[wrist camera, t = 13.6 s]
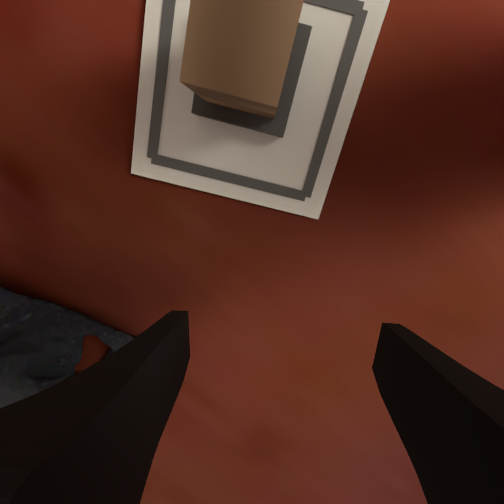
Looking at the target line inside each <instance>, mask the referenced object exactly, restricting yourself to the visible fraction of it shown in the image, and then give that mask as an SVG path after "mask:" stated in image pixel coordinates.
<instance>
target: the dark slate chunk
mask: <svg viewBox="0 0 504 504" xmlns="http://www.w3.org/2000/svg"><path fill="white" fill-rule="evenodd" d="M84 335H94V336H97V337H98V338H100V339H101V340H102V341H103V342H104V343H105V344H107V345H109V346H110V347H111V348H110V350H109V351H108V353H107V355H106V357H107V356H109V355H110V354H112V353H113V352H115V351H116V350H118V349H119V348H121V347H122V346H124V345H125V344H127V343H128V342H130V341H131V340H133V339H134V338H136V337H137V336H136V337H132V336H130V335H128V334H126V333H124V332H120V331H116V330H115V329H113V328H112V327H110V326H107V325H105V324H102V323H100V322H98V321H96V320H94V319H92V318H90V317H88V316H86V315H83V314H81V313H78V312H75V311H71V310H70V309H68V308H66V307H63V306H59V305H57V304H56V303H52V302H48V301H45V300H40V299H34V298H31V297H29V296H25V295H19V294H17V293H14V292H12V291H10V290H8V289H5V288H3V287H1V286H0V408H2V407H5V406H7V405H10V404H12V403H15V402H17V401H20V400H22V399H24V398H27V397H29V396H31V395H34V394H36V393H38V392H41V391H43V390H45V389H47V388H49V387H51V386H53V385H55V384H57V383H59V382H61V381H63V380H66V379H68V378H70V377H72V376H74V375H75V365H76V364H78V363H79V362H80V360H81V355H82V347H83V338H84Z"/></svg>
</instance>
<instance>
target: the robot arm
mask: <svg viewBox="0 0 504 504" xmlns="http://www.w3.org/2000/svg"><path fill="white" fill-rule="evenodd" d="M189 358H190V345H189V321H188V311H174V310H172V311H171V312H169V313H168V314H166V315H165V316H164V317H162V318H161V319H160V320H158V321H157V322H156V323H154V324H153V325H152V326H151V327H149V328H148V329H146V330H145V331H144V332H142V333H141V334H140V335H138V336H137V337H136V338H134V339H133V340H131V341H130V342H128V343H127V344H125V345H124V346H122V347H121V348H119V349H118V350H116V351H115V352H113V353H112V354H110V355H109V356H107V357H106V358H104V359H102V360H101V361H99V362H97V363H96V364H94V365H92V366H90V367H88V368H87V369H85V370H83V371H81V372H79V373H78V374H76V375H74V376H72V377H70V378H68V379H66V380H63V381H61V382H59V383H57V384H55V385H53V386H51V387H49V388H47V389H45V390H43V391H41V392H38V393H36V394H34V395H31V396H29V397H27V398H24V399H22V400H20V401H17V402H15V403H12V404H10V405H7V406H5V407H2V408H0V504H140V501H141V497H142V494H143V490H144V487H145V484H146V480H147V477H148V474H149V470H150V467H151V464H152V461H153V457H154V454H155V451H156V449H157V446H158V443H159V440H160V438H161V435H162V433H163V431H164V428H165V426H166V423H167V421H168V418H169V416H170V413H171V411H172V408H173V406H174V403H175V401H176V398H177V396H178V393H179V391H180V388H181V386H182V383H183V380H184V377H185V373H186V370H187V366H188V362H189ZM372 369H373V372H374V376H375V379H376V382H377V385H378V388H379V391H380V394H381V397H382V399H383V401H384V403H385V405H386V408H387V410H388V412H389V414H390V416H391V418H392V421H393V423H394V425H395V427H396V429H397V431H398V433H399V436H400V438H401V440H402V442H403V444H404V446H405V448H406V450H407V453H408V455H409V457H410V459H411V461H412V464H413V466H414V468H415V471H416V473H417V475H418V478H419V481H420V484H421V486H422V489H423V492H424V495H425V497H426V500H427V503H428V504H504V390H502V389H501V388H499V387H497V386H495V385H494V384H492V383H490V382H489V381H487V380H485V379H484V378H482V377H480V376H479V375H477V374H475V373H474V372H472V371H471V370H469V369H467V368H466V367H464V366H463V365H461V364H460V363H458V362H457V361H455V360H453V359H452V358H450V357H449V356H447V355H446V354H444V353H443V352H441V351H440V350H439V349H437V348H436V347H434V346H433V345H431V344H430V343H428V342H427V341H425V340H424V339H422V338H421V337H419V336H418V335H416V334H415V333H413V332H412V331H410V330H409V329H407V328H405V327H404V326H402V325H400V324H392V323H382V327H381V331H380V335H379V340H378V344H377V349H376V353H375V358H374V362H373V366H372Z"/></svg>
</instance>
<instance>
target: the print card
mask: <svg viewBox="0 0 504 504" xmlns="http://www.w3.org/2000/svg"><path fill="white" fill-rule="evenodd" d="M389 2H390V0H304V2H303V6H302V10H301V14H300V18H299V23H302V24H306V25H310V26H312V30H311V34H310V37H309V41H308V45H307V49H306V53H305V56H304V60H303V64H302V68H301V72H300V75H299V79H298V83H297V87H296V91H295V94H294V98H293V102H292V106H291V110H290V113H289V117H288V121H287V125H286V129H285V132H284V136H283V137H282V138H281V137H277V136H273V135H269V134H265V133H262V132H258V131H254V130H250V129H246V128H243V127H239V126H235V125H231V124H227V123H224V122H220V121H216V120H212V119H208V118H205V117H201V116H197V115H195V114H193V113H191V110H192V104H193V97H194V92H193V91H192V90H190V89H189V88H188V87H186V86H185V85H184V84H182V83H181V82H180V81H179V79H180V72H181V65H182V58H183V50H184V43H185V36H186V29H187V21H188V14H189V7H190V0H146V8H145V20H144V31H143V42H142V53H141V65H140V76H139V87H138V99H137V110H136V121H135V132H134V144H133V155H132V166H131V174H135V175H140V176H144V177H148V178H152V179H156V180H160V181H164V182H168V183H172V184H176V185H180V186H184V187H188V188H192V189H196V190H200V191H204V192H208V193H212V194H217V195H221V196H225V197H229V198H233V199H237V200H241V201H245V202H249V203H253V204H257V205H261V206H265V207H269V208H273V209H277V210H281V211H285V212H289V213H294V214H298V215H302V216H306V217H310V218H314V219H319V216H320V213H321V210H322V207H323V204H324V201H325V198H326V194H327V191H328V188H329V185H330V182H331V179H332V176H333V173H334V170H335V167H336V164H337V161H338V158H339V155H340V152H341V149H342V145H343V142H344V139H345V136H346V133H347V130H348V127H349V124H350V121H351V118H352V115H353V112H354V109H355V106H356V103H357V100H358V96H359V93H360V90H361V87H362V84H363V81H364V78H365V75H366V72H367V69H368V66H369V63H370V60H371V57H372V54H373V51H374V47H375V44H376V41H377V38H378V35H379V32H380V29H381V26H382V23H383V20H384V17H385V14H386V11H387V8H388V5H389Z"/></svg>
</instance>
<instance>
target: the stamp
mask: <svg viewBox="0 0 504 504" xmlns="http://www.w3.org/2000/svg"><path fill="white" fill-rule="evenodd" d="M303 2H304V0H190V7H189V14H188V21H187V29H186V36H185V43H184V50H183V58H182V65H181V72H180V79H179V81H180V82H181V83H182V84H184V85H185V86H186V87H188V88H189V89H190V90H192V91H193V92H194V97H193V104H192V110H191V113H193V114H195V115H197V116H201V117H205V118H208V119H212V120H216V121H220V122H224V123H227V124H231V125H235V126H239V127H243V128H246V129H250V130H254V131H258V132H262V133H265V134H269V135H273V136H277V137H281V138H282V137H283V136H284V132H285V129H286V125H287V121H288V117H289V113H290V110H291V106H292V102H293V98H294V94H295V91H296V87H297V83H298V79H299V75H300V72H301V68H302V64H303V60H304V56H305V53H306V49H307V45H308V41H309V37H310V34H311V30H312V26H310V25H306V24H302V23H299V18H300V14H301V10H302V6H303Z"/></svg>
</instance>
